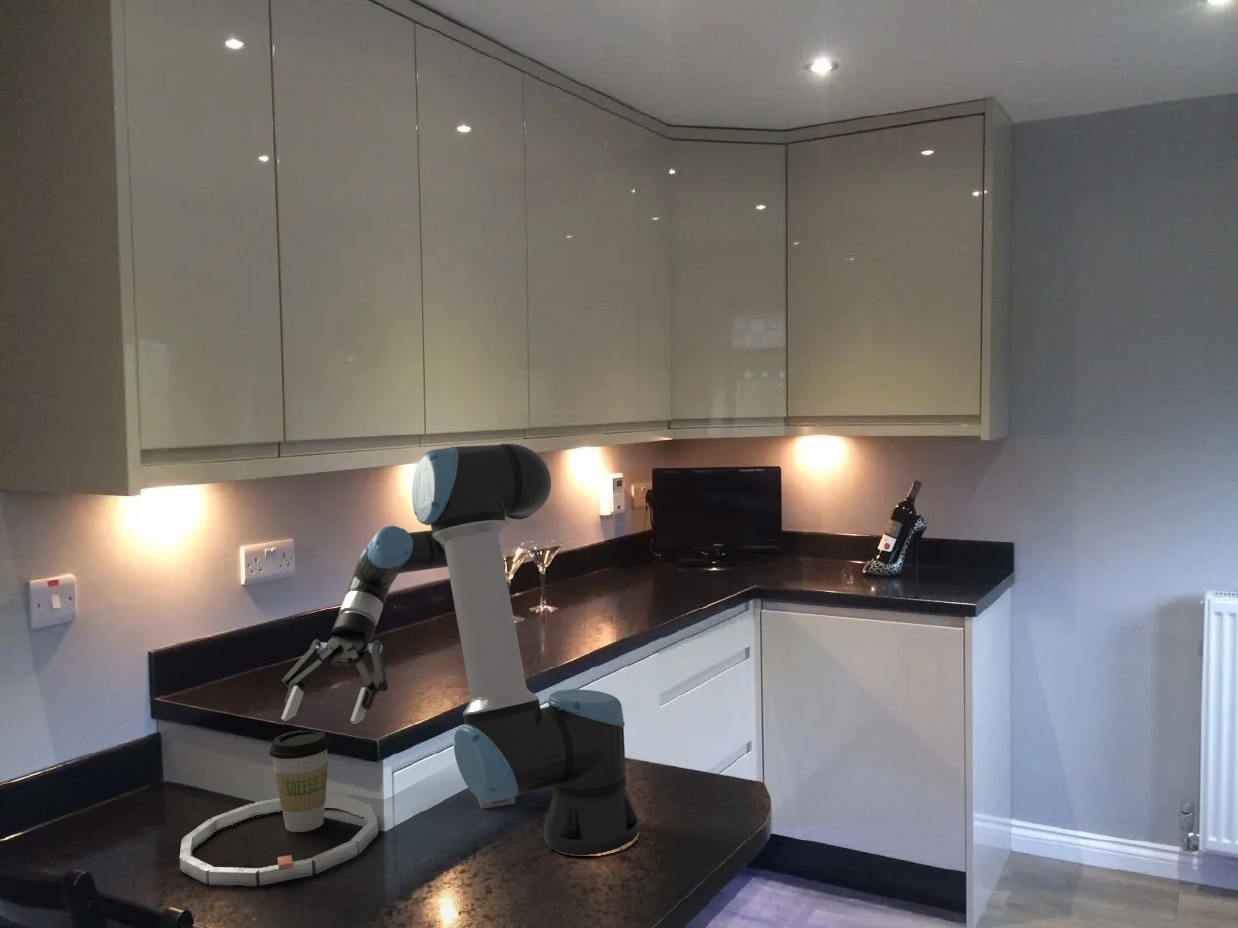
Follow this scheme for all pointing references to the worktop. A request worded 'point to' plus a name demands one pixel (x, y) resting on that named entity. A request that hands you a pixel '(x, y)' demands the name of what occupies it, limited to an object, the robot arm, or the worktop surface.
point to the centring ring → (285, 864)
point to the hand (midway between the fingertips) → (320, 723)
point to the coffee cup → (301, 778)
